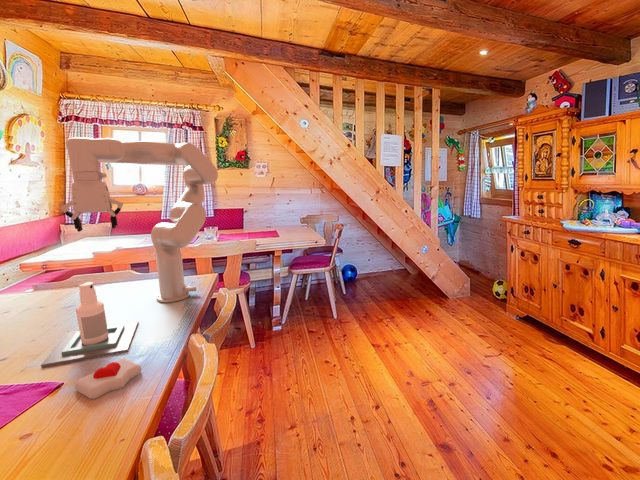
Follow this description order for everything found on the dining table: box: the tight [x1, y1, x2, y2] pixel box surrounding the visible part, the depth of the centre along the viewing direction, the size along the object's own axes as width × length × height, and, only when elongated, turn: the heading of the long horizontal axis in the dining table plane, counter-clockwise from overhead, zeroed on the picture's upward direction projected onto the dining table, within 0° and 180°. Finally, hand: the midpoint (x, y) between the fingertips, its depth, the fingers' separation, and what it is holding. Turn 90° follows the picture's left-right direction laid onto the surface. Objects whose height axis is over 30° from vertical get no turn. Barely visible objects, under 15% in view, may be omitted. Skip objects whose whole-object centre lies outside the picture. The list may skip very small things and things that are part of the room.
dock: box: [40, 320, 139, 368], centre depth 97 cm, size 20×20×2 cm
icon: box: [74, 358, 142, 400], centre depth 78 cm, size 12×4×10 cm
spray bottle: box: [75, 281, 108, 345], centre depth 96 cm, size 7×7×18 cm
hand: (97, 229), depth 107 cm, fingers open, 9 cm apart
